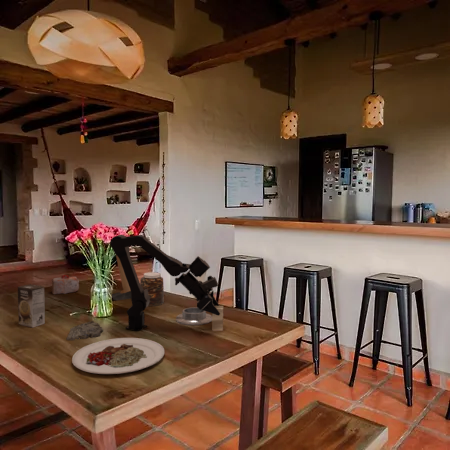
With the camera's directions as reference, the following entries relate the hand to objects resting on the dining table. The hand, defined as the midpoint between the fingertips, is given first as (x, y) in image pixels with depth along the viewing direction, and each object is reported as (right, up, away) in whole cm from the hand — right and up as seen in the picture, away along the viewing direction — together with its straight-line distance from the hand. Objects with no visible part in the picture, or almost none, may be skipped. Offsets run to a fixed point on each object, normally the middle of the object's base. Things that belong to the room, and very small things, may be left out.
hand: (219, 311), depth 167 cm
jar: (-35, -4, +39) cm, 53 cm away
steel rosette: (-11, -6, +13) cm, 18 cm away
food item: (-87, -2, +60) cm, 106 cm away
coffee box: (-79, -7, +5) cm, 80 cm away
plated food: (-33, -10, -30) cm, 46 cm away
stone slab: (-54, -8, -5) cm, 55 cm away
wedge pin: (-1, -7, +1) cm, 7 cm away
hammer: (-50, -3, +49) cm, 70 cm away
